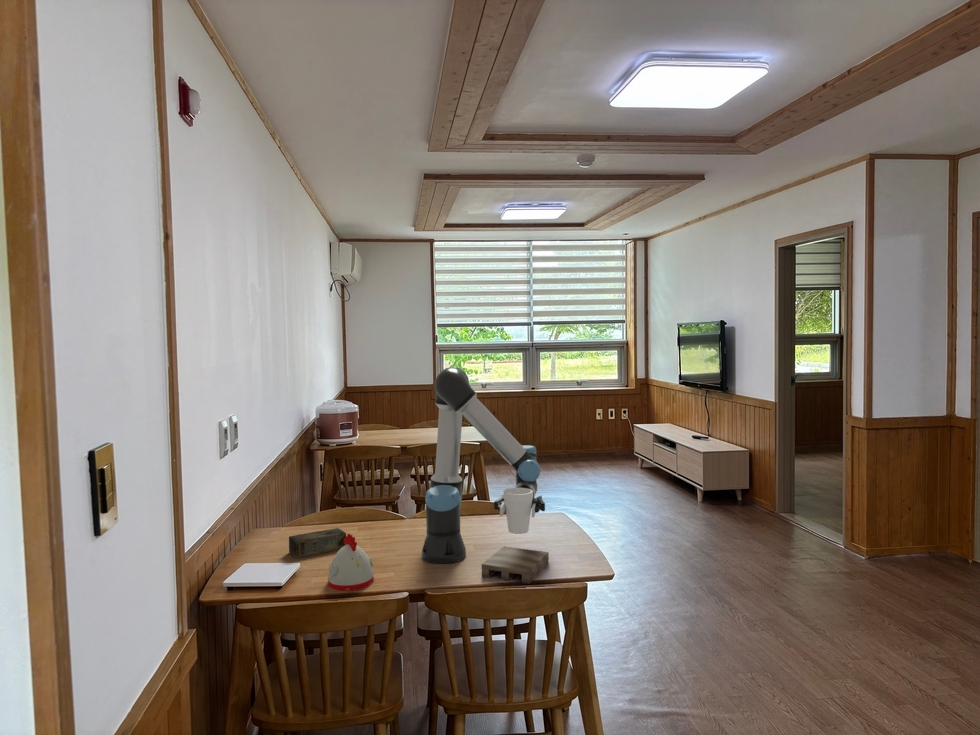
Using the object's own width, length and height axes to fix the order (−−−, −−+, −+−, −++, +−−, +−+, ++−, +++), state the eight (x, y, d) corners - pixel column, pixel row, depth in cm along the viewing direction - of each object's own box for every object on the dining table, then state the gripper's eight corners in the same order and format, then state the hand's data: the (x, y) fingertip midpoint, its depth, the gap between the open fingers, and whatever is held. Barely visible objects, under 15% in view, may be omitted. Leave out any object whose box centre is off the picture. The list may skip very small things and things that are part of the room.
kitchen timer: (338, 594, 186) (337, 544, 185) (321, 580, 197) (319, 533, 197) (381, 583, 194) (380, 535, 194) (362, 570, 205) (361, 525, 205)
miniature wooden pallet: (529, 583, 192) (529, 570, 191) (481, 576, 198) (481, 563, 198) (548, 564, 208) (548, 552, 208) (504, 557, 215) (503, 546, 214)
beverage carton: (347, 548, 228) (347, 530, 227) (294, 560, 217) (293, 541, 217) (339, 543, 234) (339, 525, 234) (287, 553, 224) (287, 535, 223)
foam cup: (539, 531, 202) (538, 491, 202) (517, 537, 196) (516, 496, 196) (519, 524, 210) (519, 486, 209) (498, 530, 204) (497, 490, 203)
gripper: (555, 506, 219) (552, 525, 197) (492, 504, 222) (482, 523, 200) (555, 485, 219) (551, 501, 197) (492, 483, 222) (482, 499, 200)
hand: (516, 512), depth 198 cm, fingers closed on foam cup, 9 cm apart
